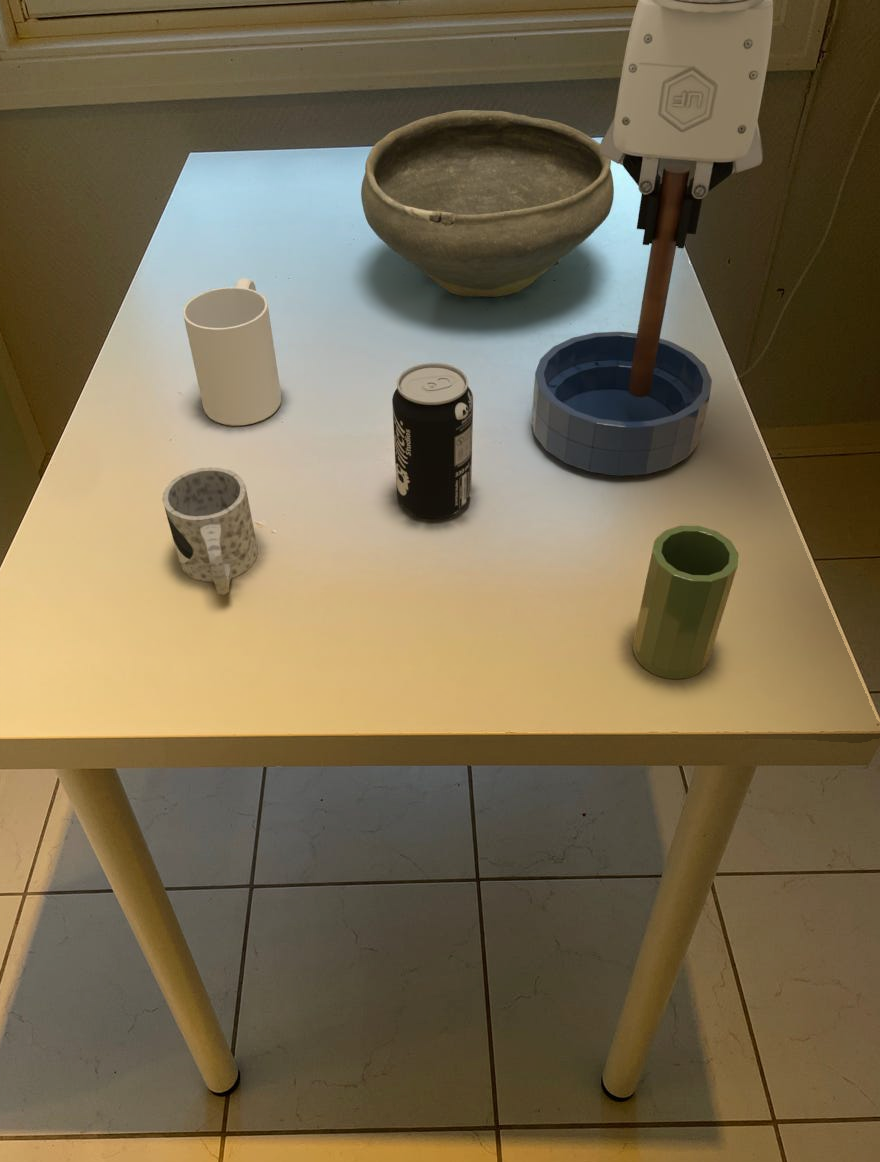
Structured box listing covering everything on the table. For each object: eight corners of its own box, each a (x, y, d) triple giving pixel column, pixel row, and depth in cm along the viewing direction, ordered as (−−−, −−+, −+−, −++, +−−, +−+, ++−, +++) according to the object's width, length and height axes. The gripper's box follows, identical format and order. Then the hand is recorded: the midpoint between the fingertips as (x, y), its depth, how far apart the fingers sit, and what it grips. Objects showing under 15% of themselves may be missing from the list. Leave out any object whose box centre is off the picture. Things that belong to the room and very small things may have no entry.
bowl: (404, 216, 125) (400, 98, 115) (618, 235, 119) (634, 113, 109) (335, 324, 107) (323, 196, 97) (583, 353, 101) (598, 220, 91)
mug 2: (176, 536, 83) (160, 474, 79) (252, 523, 84) (240, 461, 79) (185, 616, 77) (167, 554, 72) (267, 601, 78) (255, 539, 73)
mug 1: (272, 429, 94) (256, 330, 86) (194, 425, 95) (171, 327, 87) (297, 362, 102) (285, 266, 94) (225, 359, 103) (207, 264, 95)
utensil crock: (711, 631, 74) (740, 532, 66) (705, 686, 70) (735, 588, 63) (637, 617, 75) (658, 519, 68) (627, 671, 71) (648, 573, 64)
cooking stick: (651, 387, 90) (691, 164, 75) (648, 398, 88) (688, 174, 74) (629, 384, 90) (665, 162, 75) (626, 396, 89) (662, 172, 74)
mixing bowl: (704, 397, 95) (717, 342, 90) (690, 494, 85) (704, 437, 80) (548, 377, 98) (553, 323, 94) (516, 468, 88) (520, 412, 84)
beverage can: (385, 489, 87) (378, 372, 78) (450, 468, 89) (450, 352, 80) (416, 532, 83) (412, 413, 74) (484, 509, 84) (488, 391, 76)
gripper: (584, -17, 64) (560, 250, 78) (834, -7, 61) (763, 270, 75) (601, -45, 69) (575, 211, 83) (833, -38, 66) (767, 228, 79)
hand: (665, 237), depth 79 cm, fingers closed on cooking stick, 2 cm apart
